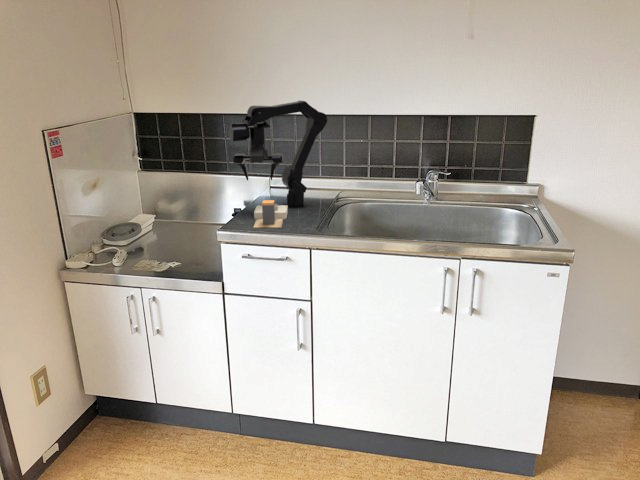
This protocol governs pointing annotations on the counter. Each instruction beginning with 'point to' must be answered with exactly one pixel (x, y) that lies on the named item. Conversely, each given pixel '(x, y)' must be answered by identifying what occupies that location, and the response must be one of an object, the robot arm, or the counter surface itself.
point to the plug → (268, 212)
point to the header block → (279, 212)
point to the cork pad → (259, 224)
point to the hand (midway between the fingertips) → (259, 180)
